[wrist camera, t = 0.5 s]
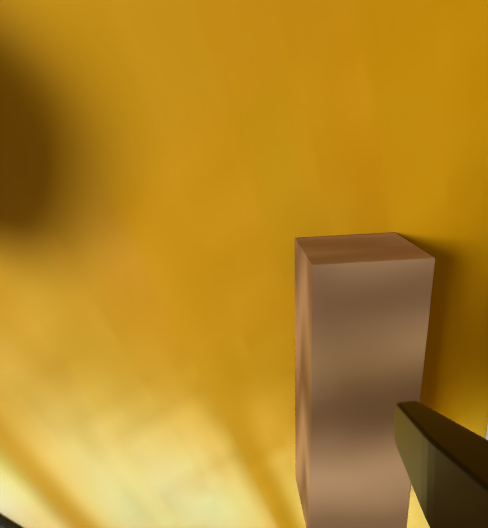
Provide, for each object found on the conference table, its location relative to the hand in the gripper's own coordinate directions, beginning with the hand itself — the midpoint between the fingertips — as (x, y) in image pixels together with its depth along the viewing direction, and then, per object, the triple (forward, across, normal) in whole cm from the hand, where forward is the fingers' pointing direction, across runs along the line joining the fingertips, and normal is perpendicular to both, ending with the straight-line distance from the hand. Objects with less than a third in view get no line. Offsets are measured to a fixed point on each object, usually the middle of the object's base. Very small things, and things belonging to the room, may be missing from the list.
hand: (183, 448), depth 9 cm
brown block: (+13, -7, +7) cm, 16 cm away
